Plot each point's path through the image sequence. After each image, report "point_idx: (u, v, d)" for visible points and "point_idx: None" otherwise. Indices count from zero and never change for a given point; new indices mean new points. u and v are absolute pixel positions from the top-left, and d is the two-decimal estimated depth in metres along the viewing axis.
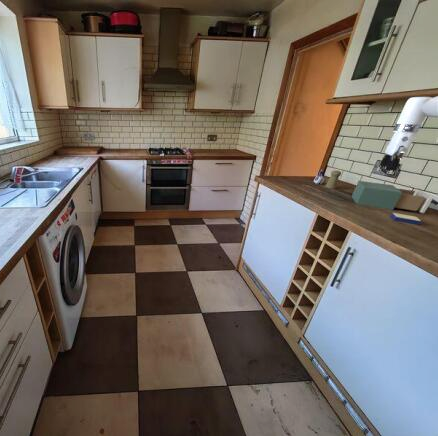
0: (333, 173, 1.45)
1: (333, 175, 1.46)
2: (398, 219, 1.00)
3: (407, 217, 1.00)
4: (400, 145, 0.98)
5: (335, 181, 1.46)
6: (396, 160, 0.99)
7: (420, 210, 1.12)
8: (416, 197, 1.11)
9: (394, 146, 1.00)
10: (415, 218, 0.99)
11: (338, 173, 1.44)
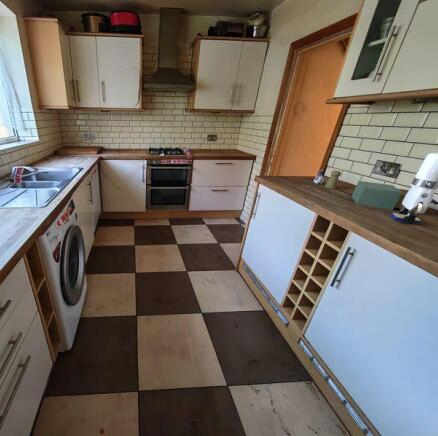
0: (333, 173, 1.45)
1: (333, 175, 1.46)
2: (398, 219, 1.00)
3: None
4: (419, 202, 0.94)
5: (335, 181, 1.46)
6: (412, 217, 0.97)
7: None
8: None
9: (413, 201, 0.95)
10: None
11: (338, 173, 1.44)
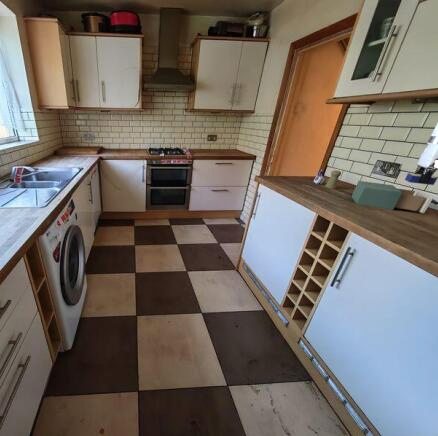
0: (333, 173, 1.45)
1: (333, 175, 1.46)
2: (415, 177, 1.05)
3: None
4: (435, 159, 0.98)
5: (335, 181, 1.46)
6: (429, 174, 1.01)
7: (420, 210, 1.12)
8: (416, 197, 1.11)
9: (429, 158, 0.99)
10: None
11: (338, 173, 1.44)
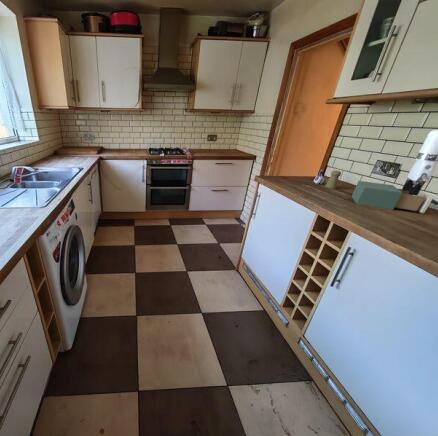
0: (333, 173, 1.45)
1: (333, 175, 1.46)
2: None
3: None
4: (423, 173, 1.08)
5: (335, 181, 1.46)
6: (418, 186, 1.10)
7: (420, 210, 1.12)
8: (416, 197, 1.11)
9: (417, 173, 1.09)
10: None
11: (338, 173, 1.44)
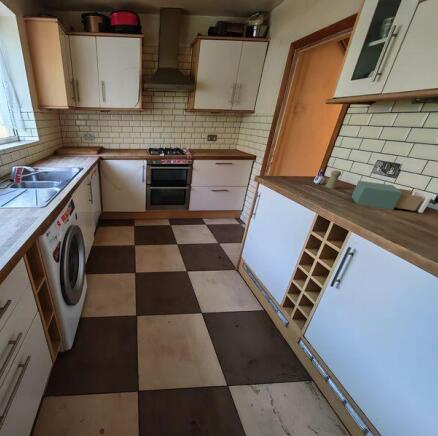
0: (333, 173, 1.45)
1: (333, 175, 1.46)
2: None
3: None
4: None
5: (335, 181, 1.46)
6: None
7: (418, 210, 1.13)
8: (414, 197, 1.11)
9: None
10: None
11: (338, 173, 1.44)
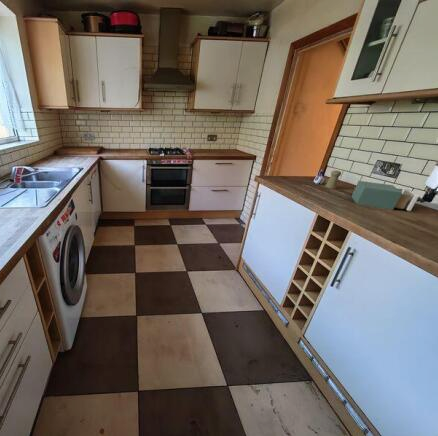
0: (333, 173, 1.45)
1: (333, 175, 1.46)
2: None
3: None
4: None
5: (335, 181, 1.46)
6: (432, 194, 1.11)
7: (407, 208, 1.14)
8: (403, 195, 1.13)
9: (436, 181, 1.07)
10: None
11: (338, 173, 1.44)
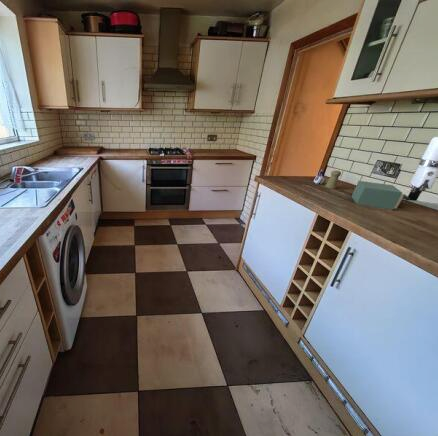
0: (333, 173, 1.45)
1: (333, 175, 1.46)
2: None
3: None
4: (424, 181, 1.09)
5: (335, 181, 1.46)
6: (417, 192, 1.13)
7: None
8: None
9: (420, 179, 1.09)
10: None
11: (338, 173, 1.44)
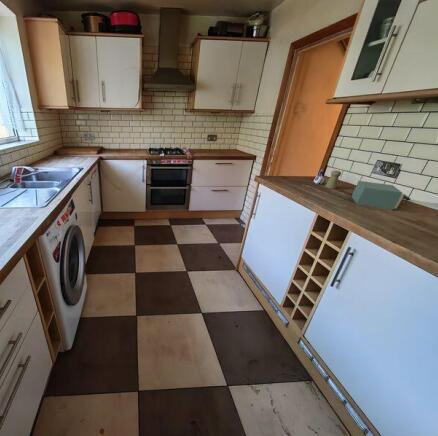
0: (333, 173, 1.45)
1: (333, 175, 1.46)
2: None
3: None
4: None
5: (335, 181, 1.46)
6: None
7: None
8: None
9: None
10: None
11: (338, 173, 1.44)
